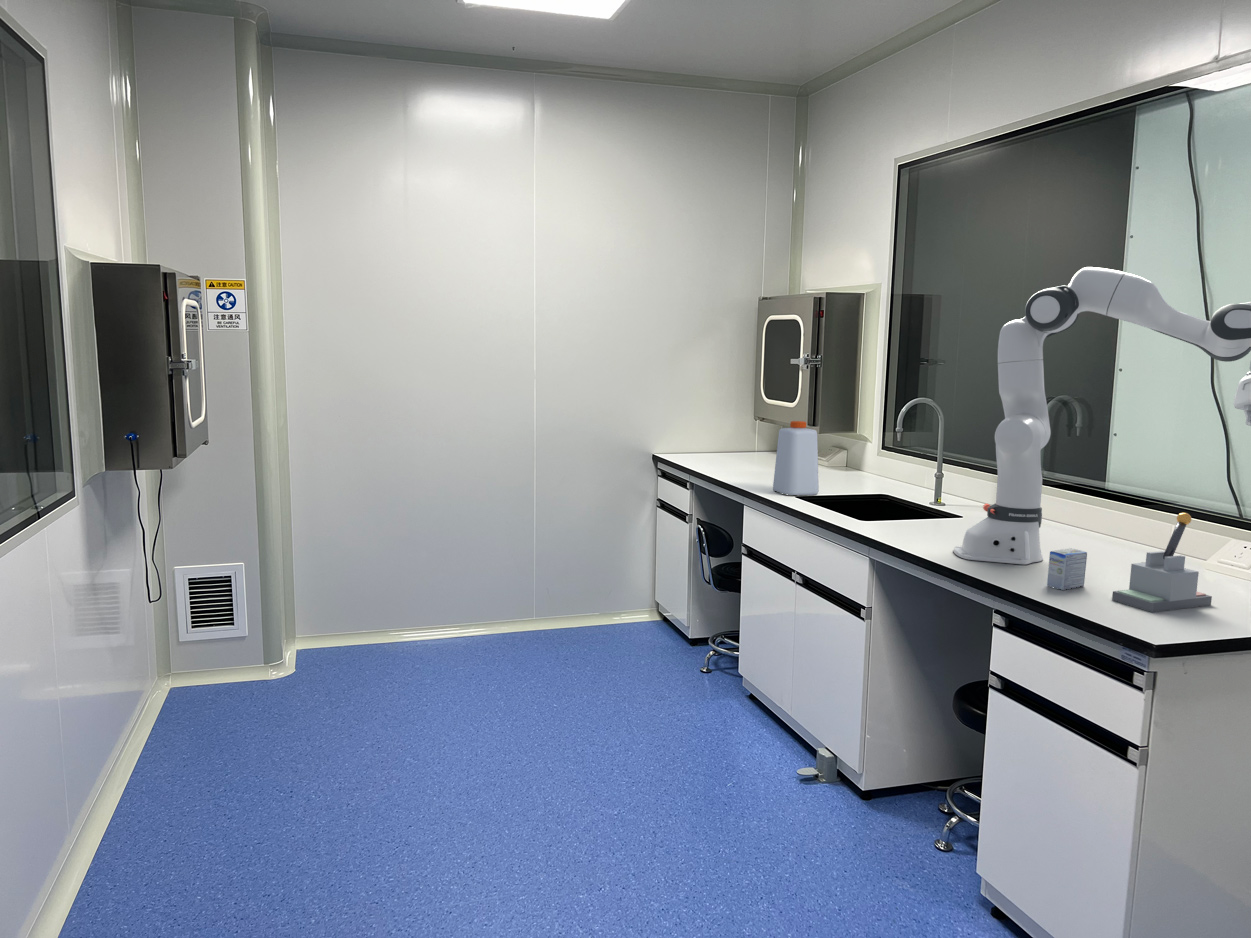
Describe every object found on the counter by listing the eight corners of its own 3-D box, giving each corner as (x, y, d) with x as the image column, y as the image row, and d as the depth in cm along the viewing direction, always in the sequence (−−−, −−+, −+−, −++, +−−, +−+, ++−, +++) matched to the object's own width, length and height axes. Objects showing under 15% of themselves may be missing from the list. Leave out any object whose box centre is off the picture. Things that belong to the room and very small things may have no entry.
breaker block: (1169, 593, 205) (1173, 547, 203) (1210, 605, 196) (1216, 556, 194) (1111, 599, 198) (1116, 552, 197) (1152, 612, 189) (1157, 562, 188)
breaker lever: (1164, 561, 198) (1184, 514, 198) (1175, 564, 195) (1196, 516, 195) (1156, 557, 197) (1176, 509, 197) (1168, 559, 194) (1188, 511, 194)
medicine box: (1067, 582, 213) (1070, 547, 212) (1084, 587, 209) (1087, 551, 208) (1046, 586, 210) (1049, 550, 208) (1063, 591, 206) (1066, 554, 205)
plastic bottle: (787, 497, 334) (790, 423, 330) (768, 490, 348) (771, 420, 344) (822, 495, 339) (826, 422, 335) (802, 489, 353) (805, 419, 349)
